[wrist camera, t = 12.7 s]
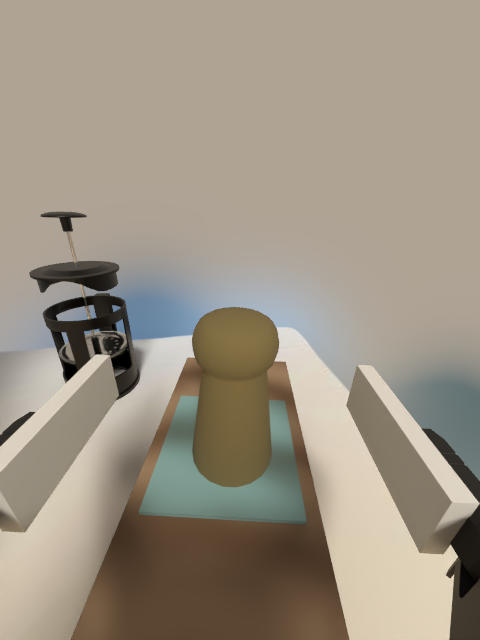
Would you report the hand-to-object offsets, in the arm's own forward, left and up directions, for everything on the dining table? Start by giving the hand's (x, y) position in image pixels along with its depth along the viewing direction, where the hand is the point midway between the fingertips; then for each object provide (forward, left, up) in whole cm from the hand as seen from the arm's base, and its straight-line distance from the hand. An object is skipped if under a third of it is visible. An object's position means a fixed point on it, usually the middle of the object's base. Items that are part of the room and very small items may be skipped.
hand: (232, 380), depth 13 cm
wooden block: (-2, +1, -15) cm, 16 cm away
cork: (-2, +1, -8) cm, 9 cm away
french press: (-25, -8, -16) cm, 31 cm away
